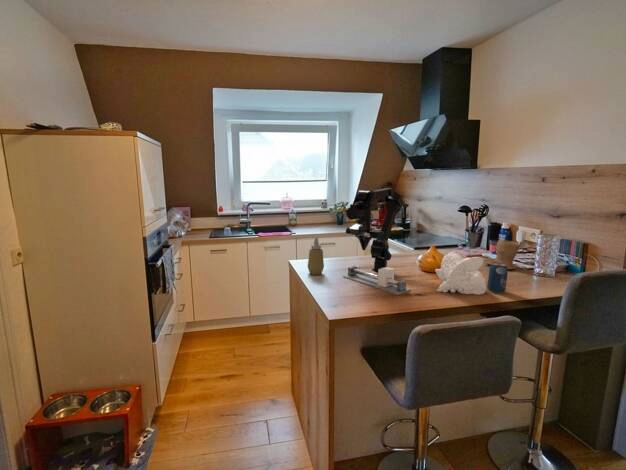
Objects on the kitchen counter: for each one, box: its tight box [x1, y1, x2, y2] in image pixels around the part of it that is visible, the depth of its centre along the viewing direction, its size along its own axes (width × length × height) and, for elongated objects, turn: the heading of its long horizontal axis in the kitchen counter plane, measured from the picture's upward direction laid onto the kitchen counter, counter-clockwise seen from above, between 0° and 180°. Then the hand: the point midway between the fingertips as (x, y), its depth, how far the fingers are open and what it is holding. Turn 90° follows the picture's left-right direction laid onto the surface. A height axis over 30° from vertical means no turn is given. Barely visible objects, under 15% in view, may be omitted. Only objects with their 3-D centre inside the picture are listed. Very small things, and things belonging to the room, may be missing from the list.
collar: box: [377, 266, 395, 287], centre depth 153 cm, size 4×6×7 cm, turn 131°
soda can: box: [486, 262, 509, 294], centre depth 149 cm, size 7×7×12 cm
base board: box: [342, 274, 411, 296], centre depth 158 cm, size 31×9×1 cm, turn 41°
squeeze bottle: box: [307, 236, 325, 276], centre depth 170 cm, size 8×8×18 cm
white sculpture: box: [435, 251, 488, 295], centre depth 150 cm, size 19×20×20 cm
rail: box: [347, 265, 407, 292], centre depth 158 cm, size 30×4×4 cm, turn 41°
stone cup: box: [483, 238, 520, 270], centre depth 189 cm, size 15×12×15 cm
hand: (363, 250), depth 167 cm, fingers closed
